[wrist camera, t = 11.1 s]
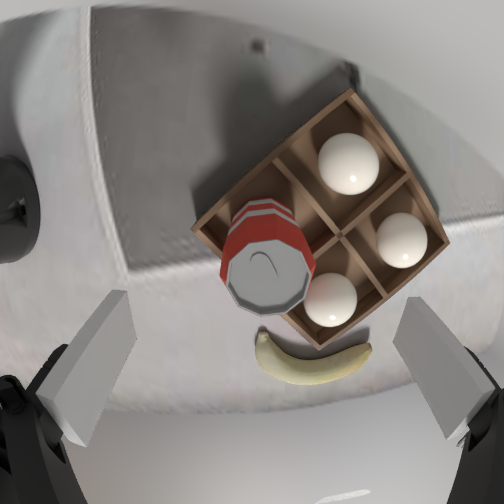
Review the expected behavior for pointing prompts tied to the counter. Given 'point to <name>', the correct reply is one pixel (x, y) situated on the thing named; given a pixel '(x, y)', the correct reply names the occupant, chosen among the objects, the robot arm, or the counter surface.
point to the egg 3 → (401, 240)
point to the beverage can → (266, 258)
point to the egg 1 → (348, 163)
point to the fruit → (308, 363)
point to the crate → (334, 211)
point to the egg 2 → (330, 299)
